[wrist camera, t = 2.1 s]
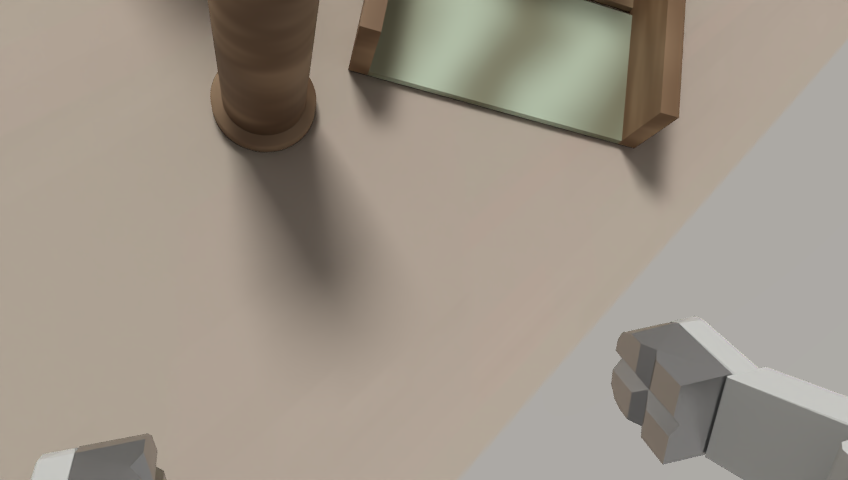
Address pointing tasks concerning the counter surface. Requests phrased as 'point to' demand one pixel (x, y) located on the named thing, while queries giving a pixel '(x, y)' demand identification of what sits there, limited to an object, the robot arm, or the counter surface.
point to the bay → (536, 58)
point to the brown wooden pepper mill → (263, 71)
